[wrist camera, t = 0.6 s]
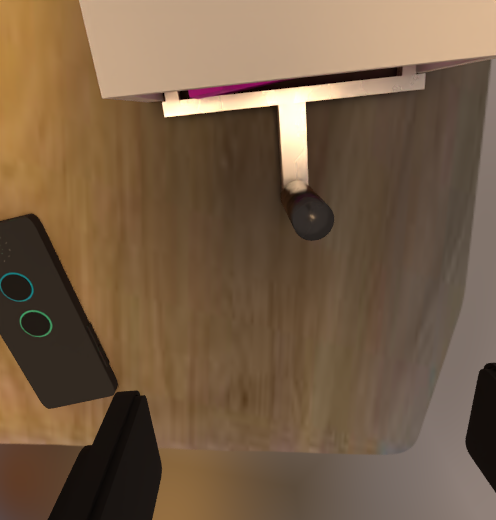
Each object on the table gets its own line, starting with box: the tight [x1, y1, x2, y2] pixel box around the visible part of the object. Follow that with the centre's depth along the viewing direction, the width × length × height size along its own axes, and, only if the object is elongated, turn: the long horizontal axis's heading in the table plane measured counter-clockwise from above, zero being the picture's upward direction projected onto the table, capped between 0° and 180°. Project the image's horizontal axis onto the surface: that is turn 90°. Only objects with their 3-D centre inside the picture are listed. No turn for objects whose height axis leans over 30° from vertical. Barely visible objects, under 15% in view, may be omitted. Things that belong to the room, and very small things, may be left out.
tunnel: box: [79, 0, 496, 102], centre depth 22 cm, size 8×22×10 cm, turn 96°
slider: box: [162, 65, 426, 241], centre depth 24 cm, size 18×19×8 cm
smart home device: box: [0, 214, 118, 409], centre depth 35 cm, size 8×2×20 cm
